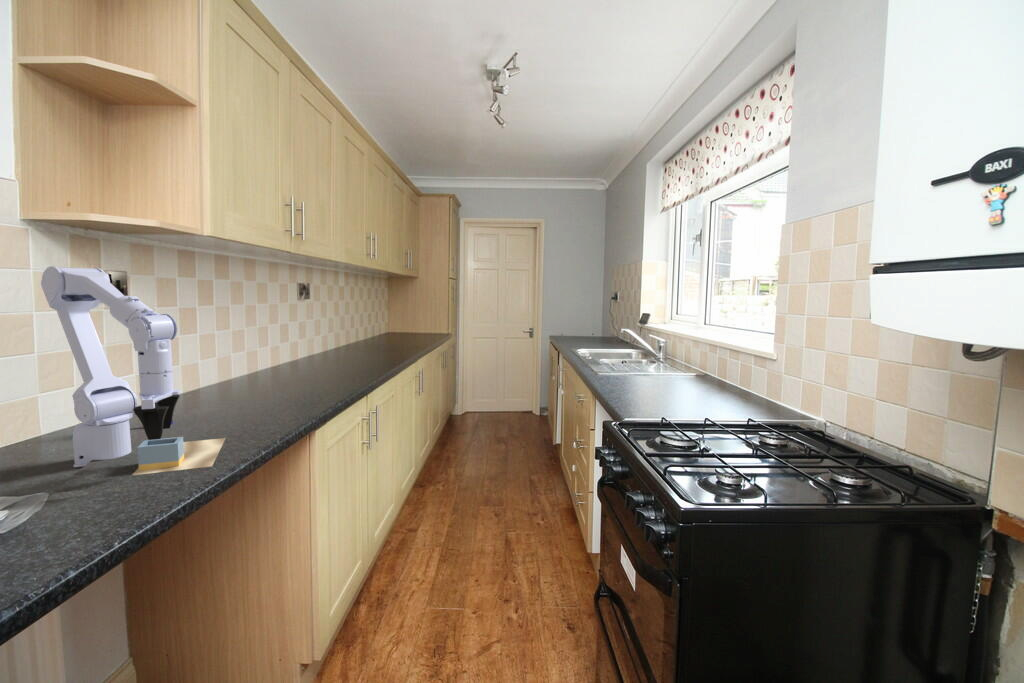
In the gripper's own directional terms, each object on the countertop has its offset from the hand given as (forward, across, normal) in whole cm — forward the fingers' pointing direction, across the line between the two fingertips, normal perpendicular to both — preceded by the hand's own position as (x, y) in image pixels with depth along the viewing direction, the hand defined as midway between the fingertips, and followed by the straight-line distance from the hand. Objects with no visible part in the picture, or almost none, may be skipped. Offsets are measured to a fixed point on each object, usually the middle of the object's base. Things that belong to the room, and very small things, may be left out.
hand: (159, 433), depth 101 cm
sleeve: (+7, 0, 0) cm, 7 cm away
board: (+8, +5, -3) cm, 10 cm away
